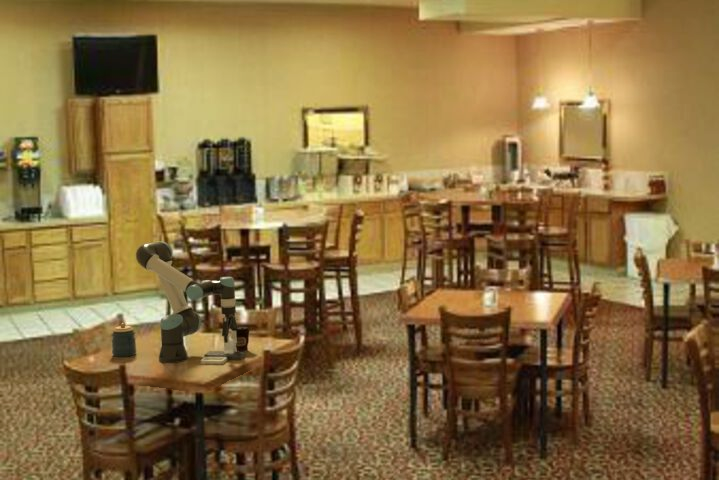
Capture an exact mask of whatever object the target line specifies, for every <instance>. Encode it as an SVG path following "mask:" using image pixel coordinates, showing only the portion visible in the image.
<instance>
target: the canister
mask: <svg viewBox="0 0 719 480" xmlns="http://www.w3.org/2000/svg"><path fill="white" fill-rule="evenodd" d="M110 335H111V337H112V338H111V349H112V351H111V352H112V353H111V355H112V356H113V357H116V358H126V357H127V358H128V357H132V356H136V354H137V346H136V345H137V344H136V336H135V335H136V332H135V331H134V327H132V326H130V325H126V323H124V322H122V323H120V325H119V326H115V327H114V328H113V329H112V333H111V334H110Z"/></svg>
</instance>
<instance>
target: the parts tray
mask: <svg viewBox="0 0 719 480" xmlns="http://www.w3.org/2000/svg"><path fill="white" fill-rule="evenodd" d="M228 361H229V360H228V359H227V357H205V358H204V357H202V358H201V359H200V361H199V363H200V364H199V365H224V364H225V363H226V362H228Z"/></svg>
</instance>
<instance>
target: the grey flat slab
mask: <svg viewBox="0 0 719 480" xmlns="http://www.w3.org/2000/svg"><path fill="white" fill-rule="evenodd" d="M203 356H204V357H203V358H205V357H227V359H228V360H227V361H242V360H243V359H244V358H245V357H246V352H244V351H236V354H235V355H224V350H223V351H222V350H218V351H217V350H209V351H207V352H206V353H204V354H203Z"/></svg>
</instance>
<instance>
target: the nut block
mask: <svg viewBox="0 0 719 480" xmlns="http://www.w3.org/2000/svg"><path fill="white" fill-rule="evenodd" d="M229 347H230V348H224V347H223V351H224V355H235V354H236V339H231V338H229Z"/></svg>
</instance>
